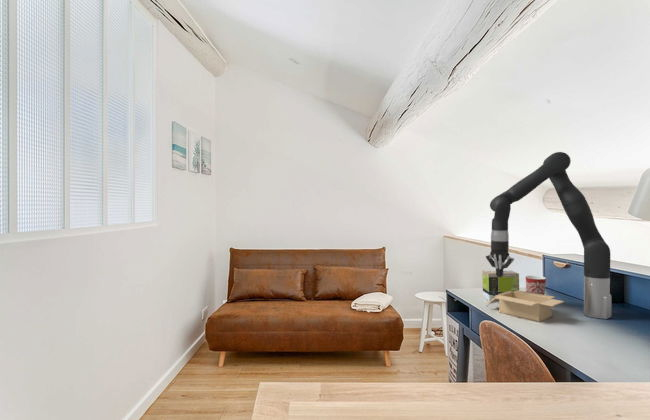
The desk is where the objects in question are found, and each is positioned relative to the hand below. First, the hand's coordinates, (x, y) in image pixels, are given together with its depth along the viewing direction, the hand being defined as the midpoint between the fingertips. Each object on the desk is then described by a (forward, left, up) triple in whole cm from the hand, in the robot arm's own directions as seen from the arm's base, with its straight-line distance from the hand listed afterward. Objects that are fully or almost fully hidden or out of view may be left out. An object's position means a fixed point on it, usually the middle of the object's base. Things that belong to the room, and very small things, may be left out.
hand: (499, 276), depth 175 cm
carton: (-14, 0, -15) cm, 21 cm away
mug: (-6, -23, -15) cm, 28 cm away
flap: (-3, 0, -7) cm, 7 cm away
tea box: (+8, -17, -16) cm, 25 cm away
